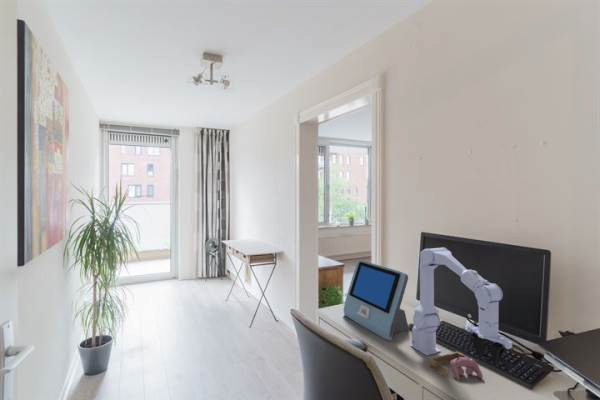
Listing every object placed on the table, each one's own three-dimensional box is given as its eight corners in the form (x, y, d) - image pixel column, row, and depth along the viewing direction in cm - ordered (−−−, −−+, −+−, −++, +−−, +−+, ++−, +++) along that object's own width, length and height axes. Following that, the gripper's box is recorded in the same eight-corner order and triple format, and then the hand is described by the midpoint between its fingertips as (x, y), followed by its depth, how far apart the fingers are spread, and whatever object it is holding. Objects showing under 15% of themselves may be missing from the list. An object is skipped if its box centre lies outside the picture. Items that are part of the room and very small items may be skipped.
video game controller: (477, 378, 115) (472, 356, 118) (484, 379, 111) (479, 357, 114) (451, 378, 115) (446, 357, 118) (457, 379, 111) (452, 357, 114)
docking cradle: (430, 367, 120) (430, 359, 120) (457, 358, 126) (457, 351, 126) (446, 377, 113) (446, 368, 113) (474, 367, 119) (474, 360, 119)
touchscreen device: (340, 315, 171) (342, 260, 171) (369, 311, 180) (371, 258, 180) (385, 342, 140) (387, 274, 140) (417, 335, 148) (419, 271, 148)
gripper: (461, 315, 111) (460, 353, 111) (502, 331, 98) (501, 374, 98) (474, 311, 114) (474, 349, 114) (516, 327, 101) (516, 369, 101)
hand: (488, 360), depth 106 cm, fingers open, 5 cm apart
